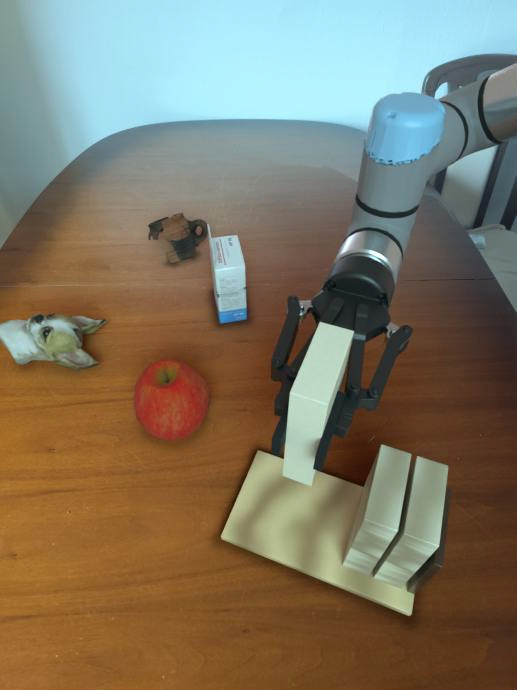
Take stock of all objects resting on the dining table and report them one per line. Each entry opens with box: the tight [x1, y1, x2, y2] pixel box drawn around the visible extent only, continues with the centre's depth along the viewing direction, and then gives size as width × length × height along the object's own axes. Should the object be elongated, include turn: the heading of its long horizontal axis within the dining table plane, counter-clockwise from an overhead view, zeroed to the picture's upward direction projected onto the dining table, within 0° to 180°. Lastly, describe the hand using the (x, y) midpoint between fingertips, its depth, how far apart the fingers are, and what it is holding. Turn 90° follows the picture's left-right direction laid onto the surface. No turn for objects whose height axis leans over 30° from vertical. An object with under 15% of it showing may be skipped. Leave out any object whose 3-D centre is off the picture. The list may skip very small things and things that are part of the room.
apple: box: [133, 358, 211, 442], centre depth 61 cm, size 10×10×10 cm
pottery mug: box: [147, 212, 208, 264], centre depth 89 cm, size 12×10×8 cm
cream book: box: [282, 322, 355, 486], centre depth 41 cm, size 3×8×14 cm, turn 158°
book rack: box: [220, 443, 452, 617], centre depth 49 cm, size 22×12×15 cm, turn 69°
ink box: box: [207, 223, 248, 324], centre depth 74 cm, size 9×5×15 cm, turn 10°
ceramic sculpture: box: [0, 313, 108, 371], centre depth 69 cm, size 11×9×15 cm
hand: (297, 454), depth 37 cm, fingers closed on cream book, 3 cm apart
